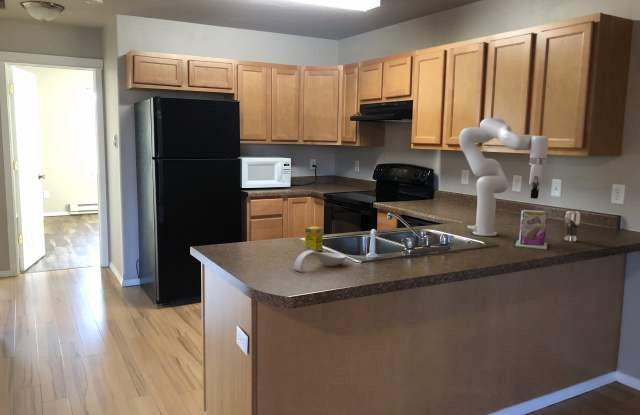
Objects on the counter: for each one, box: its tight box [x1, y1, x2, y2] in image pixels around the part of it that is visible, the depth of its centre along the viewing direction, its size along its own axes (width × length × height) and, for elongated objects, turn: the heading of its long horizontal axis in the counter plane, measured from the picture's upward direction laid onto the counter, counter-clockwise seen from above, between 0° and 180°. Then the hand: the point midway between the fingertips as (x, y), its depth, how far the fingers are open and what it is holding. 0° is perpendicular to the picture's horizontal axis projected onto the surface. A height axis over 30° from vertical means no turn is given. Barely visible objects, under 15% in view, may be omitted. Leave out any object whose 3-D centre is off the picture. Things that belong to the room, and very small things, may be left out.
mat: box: [514, 239, 548, 250], centre depth 251 cm, size 14×14×1 cm
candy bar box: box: [518, 209, 548, 245], centre depth 249 cm, size 11×5×16 cm, turn 78°
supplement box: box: [304, 225, 324, 253], centre depth 227 cm, size 6×6×11 cm
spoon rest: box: [293, 250, 347, 273], centre depth 202 cm, size 24×12×7 cm, turn 133°
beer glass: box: [563, 210, 581, 243], centre depth 262 cm, size 7×7×15 cm
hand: (534, 197), depth 248 cm, fingers open, 9 cm apart
